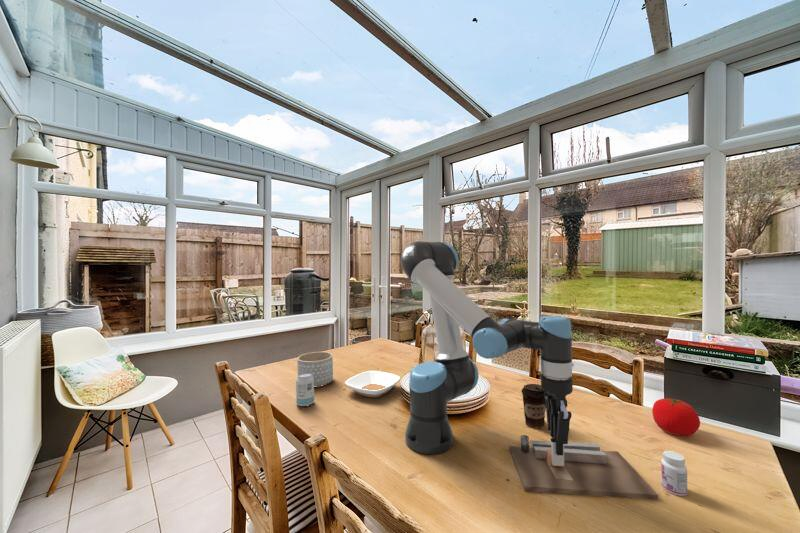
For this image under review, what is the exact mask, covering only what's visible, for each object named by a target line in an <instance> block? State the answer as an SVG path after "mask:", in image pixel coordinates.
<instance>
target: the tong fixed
mask: <svg viewBox="0 0 800 533" xmlns="http://www.w3.org/2000/svg"><path fill="white" fill-rule="evenodd" d="M529 441H530V442H529ZM530 443H531V444H530ZM534 446H538V447H551V440H550V441H548V440H530V438H529V436H528V435H526V434H521V435H520V447H521V451H522V452H524V453H529V447H531V449H532V451H533V452H534ZM564 448H565V449H578V450H591V451H601V446H599V444H598V443H592V442H591V443H590V442H574V441H573V442H571V441H568V444H564Z"/></svg>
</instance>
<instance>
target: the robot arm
mask: <svg viewBox="0 0 800 533" xmlns="http://www.w3.org/2000/svg"><path fill="white" fill-rule="evenodd" d="M400 265H401V268H402V270H403V272H404V274H405V276H407V278H408V279H409V280H410V281H411V282H412V283H414V284H416V285H417V284H418V285H419V286H421V287H422V288H423V289H424V291H425V292H426V293H428V294H429V299H430V308H431V313H432V320H433V324H434V331H435V338H436V344H437V351H438V353H437V354H436V356H435V357H434V359H435V361H428V362H421V363H419V364H417V365H415V366H414V367H412V369H410V372H409V381H408V386H409V413H410V414H409V419H408V423H407V426H406V428H405V429H406V430H405V434H404V435H405V437H404V438H405V444H406V446H407V447H408V448H409V449H410V450H412V451H414V452H415V453H416V452H417V453H418V454H419V453H420V454H424V455H437V454H442V453H445V452H446V451H448V450H450V449H451V448H452V447H453V444H454V433H453V430H452V427H451V423H450V421H449V418H448V403H449V402H450V401H452V400H455V399H457V398H459V397H461V396H465V395H467V394H468V393H469V392H471V391H473V389H474V388H475V387H476V386H477V384H478V382H479V370H478V366H477V365H476V363H474V360H473V359H471V358H470V356H469V352H467V351H466V350H464V347H463V340H462V335H461V330H460V327H461V328H462V329H463V330H464V331H466V334H468V335H469V336H470V337H472V346H473V348H474V351H475V353H476V354H477V355H478V356H479V357H481V358H483V359H486V360H487V359H488V360H491V359H494V358H500V357H502V356H503V355H506V354H507V353H510V352H513V351H516V350H518V349H521V348H523V349H524V348H525V349H530V350H536V351H539V354H540V355H539V356H540V357H539V358H540V359H539V361H540V362H539V364H540V365H539V366H540V368H539V369H540V371H539V372H540V385H541V388H542V389H543V390H544V391H546V392H544V397H545V403H546V411H545V415H546V422H547V430H548V432H549V436H550V441H551V462H552V464H553V466H564V444H568V442H569V433H570V423H571V418H572V415H573V414H572V412H571V411H568V410H567V408H568V400H567V398H566V397H567V396H568V395H570V394H572V393H573V387H574V386H573V377H572V376H573V367H574V366H575V364H574V363H573V333H572V323H571V320H570V319H569V318H567V317H565V316H561V315H543V316H541V317H540V318H539V321H531V320H530V321H529V320H522V319H516V318H502V319H501V320H500V321H499V322H497V321H496V320H495V319H493V317H491V316H490V315H489V314H488V313H487V312H486V311H485V310H483V308H481V307H480V306H479V305H478V304H477V303H476V302H475V301H474V300H473V299H471V298H470V297H469V296H468V295H467V294H466V293H465V292H464V291H463V290H461V289H460V288H459V286H457V285H456V284H455V283H454V282H453V280H454V279H455V277H456V275H455V274H456V273H455V270H457V268H458V266H459V255H458V252H457V251H456V249H455V248H454V247H453V245H451V244H449V243H446V242H442V241H422V240H421V241H413V242H411V243H409V244H408V245H407V246H406V247H405V248H404V249H403V250H402V252H401V256H400Z"/></svg>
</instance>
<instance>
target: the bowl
mask: <svg viewBox="0 0 800 533" xmlns="http://www.w3.org/2000/svg"><path fill="white" fill-rule="evenodd" d="M401 378H402V377H401V376H399V375H397V374H395V373H390V372H385V371H381V370H367V371H363V372H360V373H358V374H356V375H354V376H351V377H349V378H348V379H347V380H345V382H344V384H345V385H346V386H347V387H348V388H350V389H351V390H352V391H354V392H355V393H358V394H357V395H359V394H360V396H362V395H363V396H362V397H365V396H367V398H371V397H377V398H379V396H380V397H382V396H383V394H384V395H386V394H387V393H388V392H389V391H391V389H392V388H394V386H395V385H396V384H397V383H398V382H399V381H400V380H401ZM369 384H377V385H382V386H385V388H383V389H379V390H368V389H362V387H364V386H367V385H369ZM385 393H386V394H385ZM381 395H382V396H381Z"/></svg>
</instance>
